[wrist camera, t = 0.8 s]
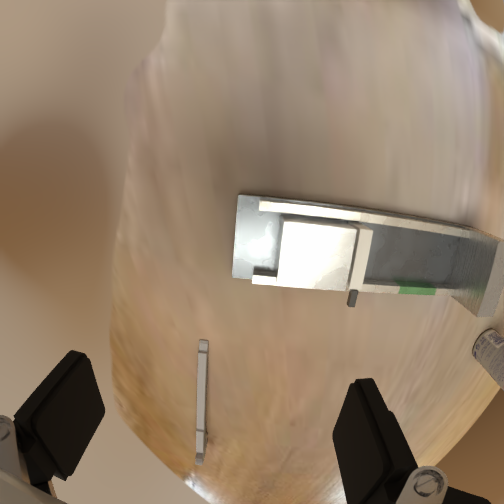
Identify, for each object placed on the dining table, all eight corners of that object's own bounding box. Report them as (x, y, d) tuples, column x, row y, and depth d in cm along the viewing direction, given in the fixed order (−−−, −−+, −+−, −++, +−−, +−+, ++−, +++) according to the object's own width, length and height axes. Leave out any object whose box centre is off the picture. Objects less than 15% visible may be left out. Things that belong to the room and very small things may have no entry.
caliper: (208, 439, 39) (203, 469, 33) (201, 438, 39) (195, 468, 33) (208, 338, 33) (199, 372, 27) (199, 337, 33) (188, 371, 27)
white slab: (348, 221, 26) (360, 229, 23) (360, 222, 26) (373, 230, 23) (336, 290, 28) (345, 306, 25) (347, 291, 28) (357, 307, 25)
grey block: (280, 213, 26) (284, 221, 23) (343, 220, 26) (356, 229, 23) (274, 269, 28) (276, 285, 24) (334, 274, 28) (345, 290, 24)
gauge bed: (239, 193, 28) (231, 204, 20) (471, 226, 28) (514, 244, 20) (233, 272, 30) (224, 308, 22) (456, 288, 30) (493, 316, 22)
